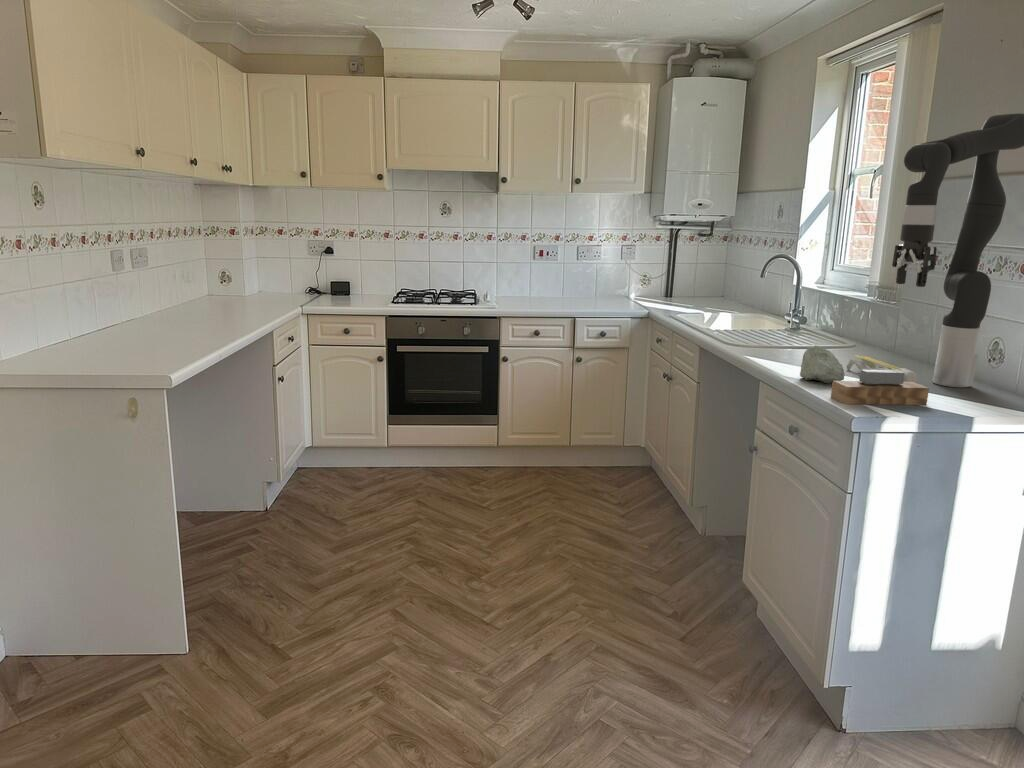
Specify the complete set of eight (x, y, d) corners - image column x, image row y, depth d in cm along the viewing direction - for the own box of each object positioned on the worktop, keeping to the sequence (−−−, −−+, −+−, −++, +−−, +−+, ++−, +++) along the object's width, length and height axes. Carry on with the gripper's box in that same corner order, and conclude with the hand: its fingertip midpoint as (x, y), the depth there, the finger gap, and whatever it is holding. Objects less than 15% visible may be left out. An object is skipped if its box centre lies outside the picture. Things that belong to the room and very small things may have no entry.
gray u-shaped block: (893, 399, 188) (897, 370, 186) (899, 402, 185) (904, 372, 184) (856, 399, 188) (861, 369, 186) (862, 402, 185) (867, 372, 183)
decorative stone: (788, 374, 216) (792, 351, 208) (820, 361, 217) (826, 337, 209) (816, 405, 207) (821, 382, 199) (850, 391, 208) (857, 367, 201)
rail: (909, 398, 191) (912, 381, 190) (926, 404, 184) (929, 388, 183) (830, 397, 189) (833, 380, 188) (844, 404, 182) (847, 386, 181)
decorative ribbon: (870, 355, 226) (929, 374, 197) (865, 373, 227) (923, 395, 198) (847, 351, 225) (903, 370, 196) (842, 369, 227) (896, 390, 197)
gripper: (950, 223, 181) (941, 287, 185) (914, 223, 195) (906, 282, 198) (922, 223, 180) (913, 287, 184) (888, 222, 194) (881, 282, 198)
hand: (910, 285), depth 191 cm, fingers open, 8 cm apart
